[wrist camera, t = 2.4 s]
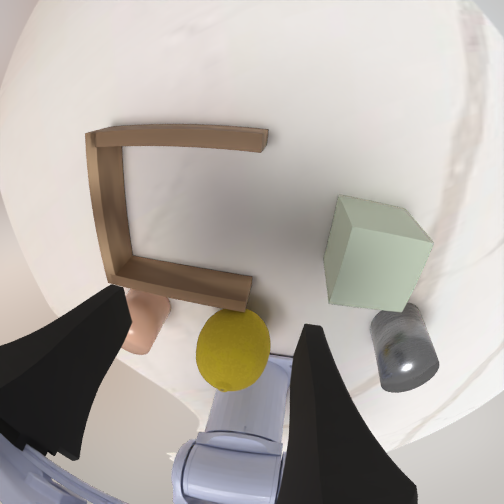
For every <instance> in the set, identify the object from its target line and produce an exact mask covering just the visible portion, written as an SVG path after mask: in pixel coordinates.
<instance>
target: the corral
mask: <svg viewBox="0 0 504 504" xmlns="http://www.w3.org/2000/svg"><path fill="white" fill-rule="evenodd" d="M267 137H268V129H259V128H249V127H237V126H222V125H200V124H149V125H127V126H113V127H108V128H104V129H100V130H96V131H92V132H88V133H85V142H86V157H87V169H88V179H89V187H90V195H91V202H92V209H93V215H94V221H95V227H96V232H97V237H98V242H99V247H100V251H101V256H102V260H103V264H104V269H105V273H106V276H107V280H108V283H111V284H115V285H119V286H123V287H127V288H131V289H135V290H139V291H143V292H147V293H151V294H156V295H160V296H165V297H169V298H174V299H178V300H183V301H188V302H193V303H198V304H203V305H208V306H213V307H218V308H223V309H229V310H234V311H240V312H245V310H246V306H247V302H248V298H249V294H250V290H251V285H252V277H251V276H245V275H239V274H233V273H227V272H221V271H215V270H209V269H203V268H198V267H192V266H186V265H181V264H175V263H169V262H164V261H159V260H153V259H148V258H143V257H137V256H133V254H132V248H131V241H130V234H129V227H128V219H127V211H126V201H125V191H124V178H123V162H122V146H180V147H201V148H216V149H229V150H240V151H249V152H258V153H261V152H262V151H263V149H264V148H265V147H266V145H267Z"/></svg>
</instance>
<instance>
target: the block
mask: <svg viewBox="0 0 504 504" xmlns="http://www.w3.org/2000/svg"><path fill="white" fill-rule="evenodd" d="M433 245H434V243H433V241H432V240H431V239H430V237H429V236H428V235H427V234H426V233H425V231H424V230H423V229H422V228H421V227H420V225H419V224H418V223H417V222H416V221H415V219H414V218H413V217H412V216H411V215H410V214H409V213H408V212H407V210H406V209H404V208H399V207H395V206H391V205H387V204H382V203H378V202H373V201H369V200H364V199H359V198H354V197H349V196H344V195H338V200H337V204H336V209H335V213H334V218H333V222H332V226H331V230H330V235H329V239H328V243H327V247H326V251H325V254H324V258H323V261H324V268H325V276H326V284H327V293H328V302H329V304H334V305H342V306H350V307H358V308H367V309H375V310H385V311H394V312H402V311H403V309H404V307H405V306H406V304H407V302H408V300H409V298H410V296H411V294H412V292H413V290H414V288H415V286H416V284H417V281H418V279H419V277H420V275H421V273H422V271H423V268H424V266H425V264H426V261H427V259H428V257H429V254H430V252H431V250H432V247H433Z"/></svg>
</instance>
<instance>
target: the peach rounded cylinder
mask: <svg viewBox="0 0 504 504" xmlns="http://www.w3.org/2000/svg"><path fill="white" fill-rule="evenodd" d="M126 300H127V304H128V308H129V312H130V315H131V319H132V324H131V327H130V329H129V332H128V334H127V337H126V339H125V341H124V343H123V345H122V347H121V348H123V349H124V350H126V351H128V352H131V353H133V354H138V355H144V354H147V353H148V352H149V351H150V349H151V347H152V345H153V343H154V341H155V339H156V337H157V335H158V333H159V332H160V330H161V328H162V326H163V324H164V322H165V320H166V318H167V317H168V315H169V313H170V310H171V305H170V301H169V299H168V298H167V297H165V296H160V295H156V294H151V293H147V292H143V291H139V290H135V289H130V291H129V292H128V293H127V295H126Z"/></svg>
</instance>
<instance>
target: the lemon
mask: <svg viewBox="0 0 504 504" xmlns="http://www.w3.org/2000/svg"><path fill="white" fill-rule="evenodd" d="M269 354H270V336H269V331H268V329H267V327H266V325H265V323H264V321H263V320H262V319H261V318H260V317H259V316H258V315H257V314H256V313H254V312H253V311H251V310H248V309H246V310H245V312H240V311H234V310H229V309H222V310H220V311H218V312H216V313H215V314H214V315H213V316H211V317H210V318H209V319H208V320H207V322H206V323H205V325H204V327H203V328H202V330H201V332H200V334H199V337H198V342H197V349H196V362H197V366H198V369H199V372H200V373H201V375H202V376H203V378H204V379H205V380H206V381H207V382H208V383H209V384H210V385H212V386H213V387H215V388H217V389H218V390H219V391H221V392H227V391H239V390H242V389H245V388H247V387H249V386H251V385H252V384H254V383H255V382H256V381H257V380H258V378H259V377H260V376H261V374H262V373H263V371H264V369H265V367H266V365H267V362H268V358H269Z"/></svg>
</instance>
